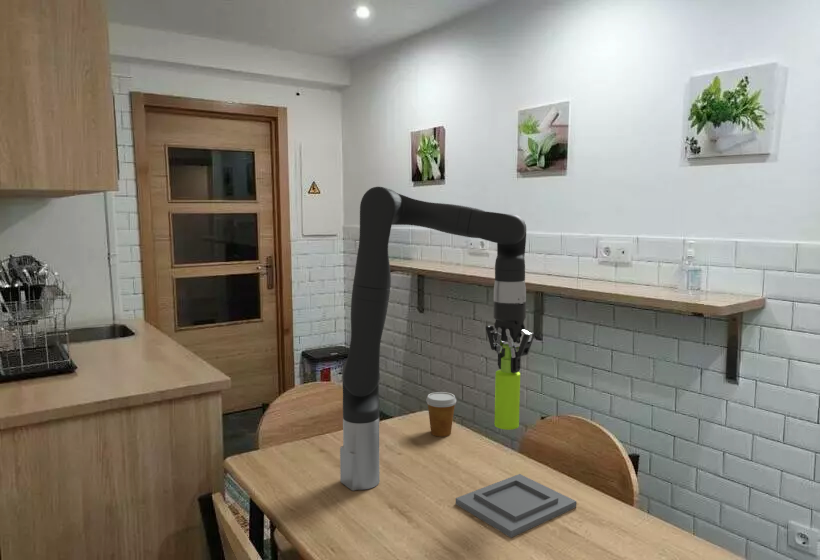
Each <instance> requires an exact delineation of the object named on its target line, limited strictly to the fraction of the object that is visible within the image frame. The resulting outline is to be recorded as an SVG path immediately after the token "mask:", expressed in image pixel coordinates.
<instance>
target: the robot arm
mask: <svg viewBox="0 0 820 560" xmlns="http://www.w3.org/2000/svg"><path fill="white" fill-rule="evenodd" d="M394 225H395V226H399V225H400V226H415V227H421V228H427V229H431V230H434V231H438V232H442V233H446V234H451V235H454V236H459V237H466V238H472V239H480V240H484V241H487V242H491V243H496V245H497V246H496V249H497V250H496V252H497V256H496V259H495V262H494V263H495V264H494V286H493V319H495V321H494V324H492V325H487V326H486V327H485V331H486V334H487V338H488V342H489V344H490V345H489V346H490V349H491V350H492V351H495V352H496V354H497V367H498V370H501V358H502V357H504V356H505V348H503V344H508V345H509V348H510V349H511V355H512V357H511V372H512V373H517V372H520V370H521V361H522V360H521V358H522V357H523V356H528V354H529V353H530V350H531V347H532V344H533V341H534V338H535V334H534V332H529V331H528V330H526V326H525V324H524V321H525V320H526V315H527V313H526V312H527V311H526V309H527V288H526V261H525V258H526V257H525V254H526V244H527V225H526V222H525V220H524V219H523V218H522V217H521V216H519V215H517V214H514V213H502V212H494V211H485V210H483V209H480V208H476V207H470V206H464V205H461V204H460V205H458V204H452V203H450V204H449V203H443V202H442V203H441V202H439V203H438V202H432V201H431V202H430V201H423V200H420V199H415V198H412V197H409V196H406V195H405V194H404V195H403V194H401V193H397V192H396V191H395V190H393V189H391V188H387V187H383V186H374V187H371V188H369V189H368V190H367V191H365V193H364V194H363V196H362V197H361V201H360V205H359V237H358V238H359V239H358V240H359V241H358V247H357V256H356V259H355V260H356V263H355V269H354V277H353V283H352V289H351V290H352V291H351V299H350V300H351V302H350V332H351V333H350V344H349V349H348V355H347V359H346V360H345V362H344V363H343V365H342V441H343V443H342V444H343V445H342V446H340V447H339V463H340V464H339V465H340V466H339V468H340V470H339V471H340V472H339V474H340V476H339V477H340V478H339V479H340V483H341V484H342V485H344V486H345V487H346V488H348V489H350V490H351V491H357V490H358V491H361V490H363V491H364V490H369V489H372V488H374V487H377V486H378V485H379V484H380V482H381V481H380V475H381V474H380V398H379V397H380V396H379V395H380V394H379V393H380V392H379V391H380V390H379V386H380V385H379V384H380V383H379V382H380V378H381V377H380V376H381V374H380V373H381V372H380V357H381V355H380V354H381V351H380V350H381V343H382V336H383V332H384V328H385V322H386V318H387V315H388V314H387V313H388V308H389V302H390V301H389V300H390V296H391V295H390V293H391V285H392V275H391V264H390V257H389V243H390V235H391V230H392V226H394ZM516 347H519V349H518V348H516Z"/></svg>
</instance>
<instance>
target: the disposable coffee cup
mask: <svg viewBox="0 0 820 560" xmlns="http://www.w3.org/2000/svg"><path fill="white" fill-rule="evenodd" d="M425 401H426V404H427V409H428V418H429V427H430V434H431V435H433V436H434V437H439V438H442V437H448V436H450V435H451V434H452V426H453V423H454V422H453V419H454V416H455V415H454V413H455V407H456V404H457V398H456V396H455V394H453V393H451V392H446V391H436V392H431V393H429V394H427V397H426V399H425Z"/></svg>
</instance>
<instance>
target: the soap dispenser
mask: <svg viewBox="0 0 820 560" xmlns="http://www.w3.org/2000/svg"><path fill="white" fill-rule="evenodd" d="M503 348H505V356H504V357H502V358H501V369H498V370H496V371H495V374H494V375H495V377H494V378H495V380H494V381H495V382H494V384H495V385H494V386H495V387H494V423H493V424H494V427H496V428H497V429H500V430H505V431H508V430H509V431H510V430H516V429H518V428H519V426H520V404H521V403H520V401H521V372H520V371H519V372H517V373H512V372H511V357H512V355H511V349H510V348H509V345H508V344H503ZM516 348H518V349H519V347H516Z"/></svg>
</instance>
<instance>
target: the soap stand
mask: <svg viewBox="0 0 820 560" xmlns="http://www.w3.org/2000/svg"><path fill="white" fill-rule="evenodd" d="M455 505H456V506H458V507H460V508H461V509H463V510H464V511H466V512H468V513H470V514H471V515H472V516H474V517H476V518H478V519H480V520H481V521H483V522H484V523H486V524H488V525H489V526H491V527H492V528H494V529H496V530H497V531H499V532H501V533H502V534H504V535H506V536H507V537H509V538H513V537H516V536H518V535H520V534H522V533H524V532H526V531H529V530H531V529H533V528H535V527H537V526H539V525H541V524H544V523H545V522H548V521H550V520H552V519H555V518H556V517H558V516H561V515H562V514H565V513H567V512H569V511H571V509H572V510H573V508H574V509H575V507H576V508H577V500H575V499H573V498H570V497H568V496H567V495H564V494H562V493H560V492H558V491H556V490H554V489H553V488H551V487H548V486H545V485H544V484H541V483H539V482H537V481H536V480H534V479H532V478H529V477H527V476H525V475H523V474H521V473H519V474H516V475H514V476H510V477H508V478H505V479H502V480H499V481H497V482H495V483H492V484H490V485H487V486H484V487H481V488H479V489H476V490H473V491H470V492H469V493H466V494H463V495H460V496H458V497H456V498H455Z"/></svg>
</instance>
